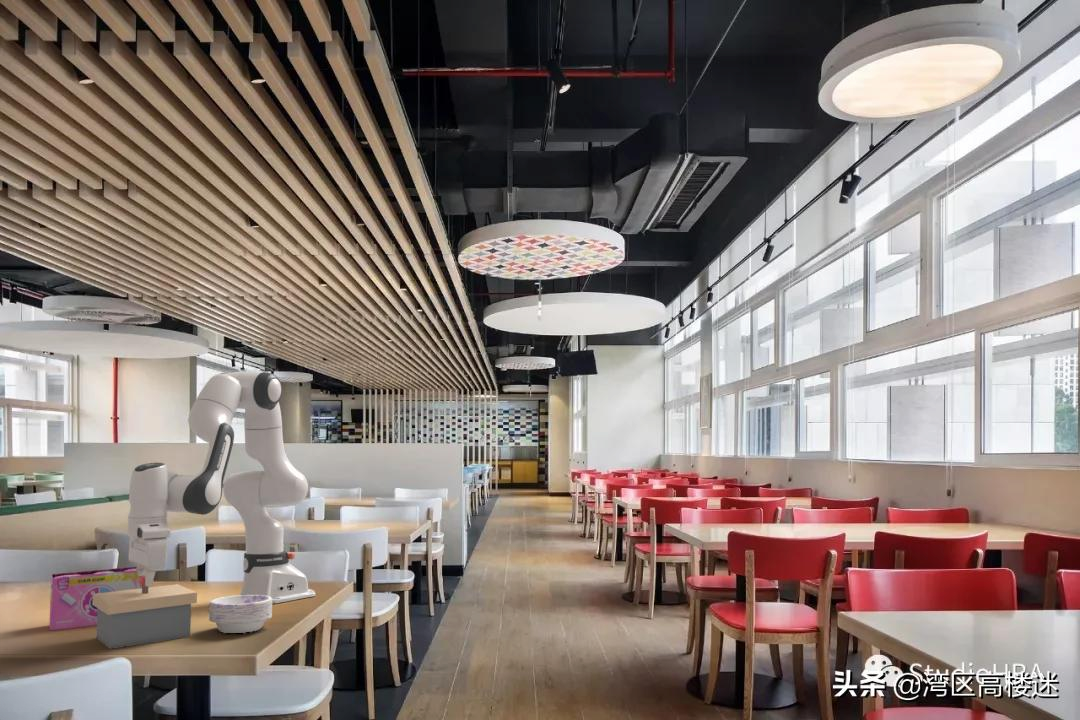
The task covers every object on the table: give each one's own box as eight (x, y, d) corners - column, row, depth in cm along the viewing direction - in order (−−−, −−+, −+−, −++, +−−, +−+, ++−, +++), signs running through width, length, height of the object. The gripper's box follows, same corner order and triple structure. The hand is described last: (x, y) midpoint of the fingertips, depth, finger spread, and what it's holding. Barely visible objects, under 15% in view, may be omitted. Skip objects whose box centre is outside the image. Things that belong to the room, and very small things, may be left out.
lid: (176, 594, 214) (177, 567, 215) (196, 603, 202) (197, 575, 203) (92, 604, 201) (93, 576, 202) (108, 614, 189) (109, 585, 190)
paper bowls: (275, 622, 216) (276, 591, 217) (266, 635, 202) (267, 603, 202) (215, 625, 214) (216, 594, 215) (202, 639, 199) (203, 605, 200)
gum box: (147, 614, 229) (149, 565, 230) (151, 619, 222) (153, 568, 223) (48, 625, 215) (51, 573, 217) (49, 631, 209) (52, 577, 210)
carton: (173, 626, 212) (174, 587, 213) (190, 636, 202) (191, 595, 202) (96, 638, 201) (98, 596, 202) (110, 649, 190) (112, 605, 191)
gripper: (123, 526, 209) (120, 580, 208) (145, 532, 194) (142, 591, 193) (149, 524, 214) (147, 577, 212) (172, 530, 198) (170, 588, 197)
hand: (145, 584), depth 202 cm, fingers open, 4 cm apart
